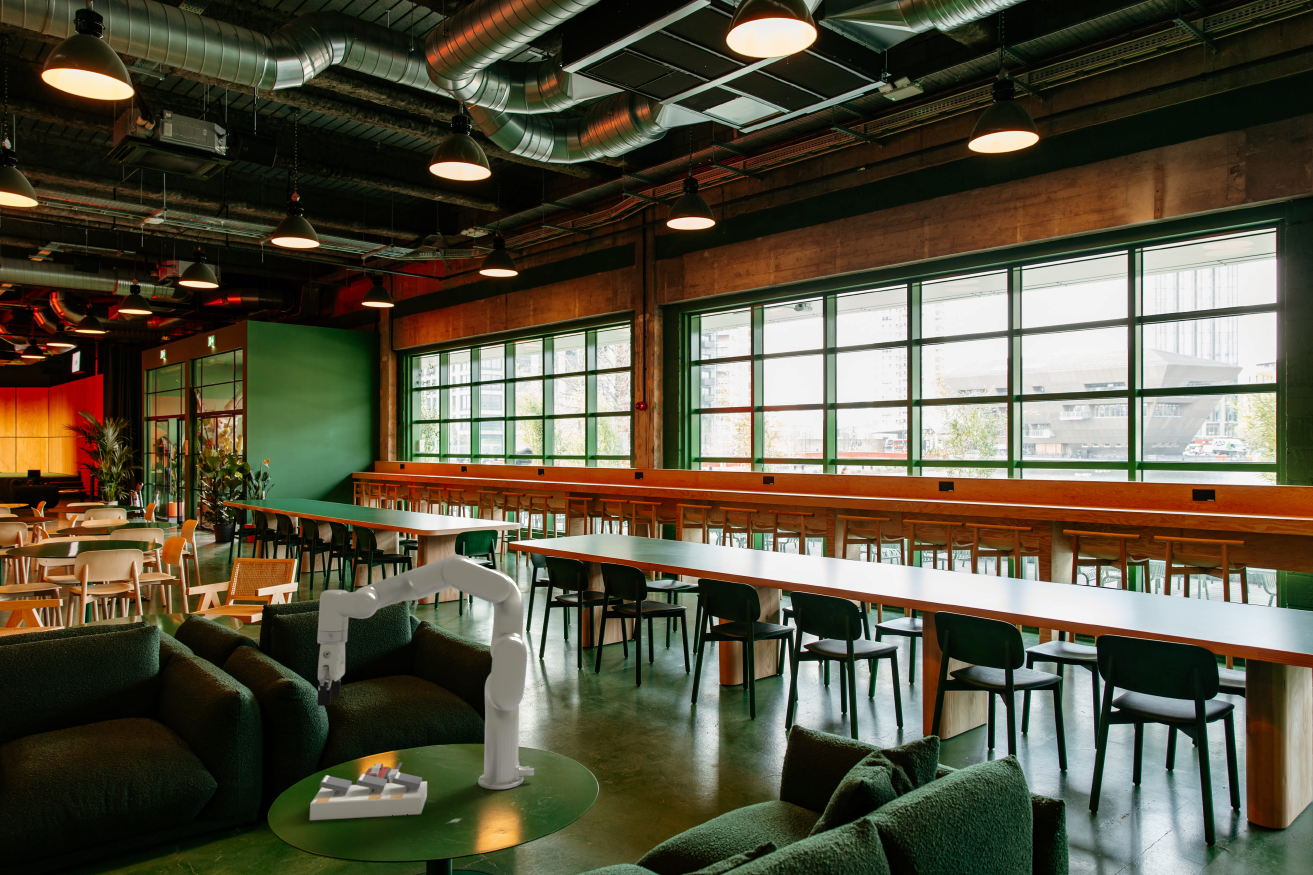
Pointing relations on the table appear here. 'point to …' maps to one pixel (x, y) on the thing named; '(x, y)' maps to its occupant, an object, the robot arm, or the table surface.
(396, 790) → the switch unit
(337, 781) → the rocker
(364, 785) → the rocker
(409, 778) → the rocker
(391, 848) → the table surface
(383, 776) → the walkie-talkie
